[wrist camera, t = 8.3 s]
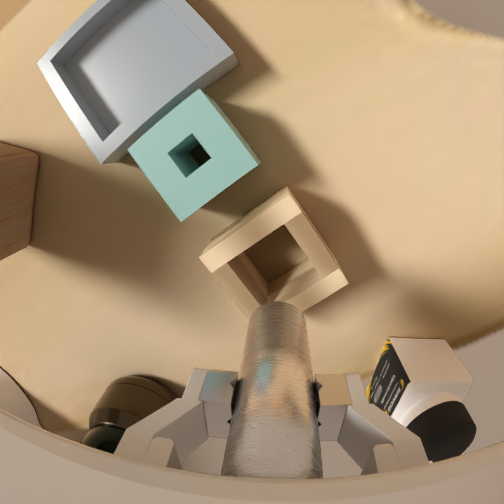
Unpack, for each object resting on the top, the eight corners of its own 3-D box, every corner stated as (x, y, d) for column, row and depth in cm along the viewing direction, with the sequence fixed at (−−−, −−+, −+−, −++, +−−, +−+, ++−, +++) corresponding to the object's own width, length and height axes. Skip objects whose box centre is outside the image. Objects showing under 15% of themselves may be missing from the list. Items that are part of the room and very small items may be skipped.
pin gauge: (267, 358, 15) (248, 561, 5) (235, 317, 14) (180, 531, 4) (317, 335, 14) (346, 547, 4) (288, 289, 13) (295, 521, 4)
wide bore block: (264, 303, 26) (261, 335, 22) (213, 237, 25) (198, 257, 20) (335, 258, 25) (348, 283, 20) (286, 185, 23) (289, 194, 18)
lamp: (112, 356, 30) (7, 519, 9) (196, 389, 30) (134, 583, 9) (110, 409, 33) (37, 545, 12) (181, 436, 33) (133, 588, 12)
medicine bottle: (386, 335, 27) (431, 429, 15) (445, 337, 26) (500, 417, 15) (364, 391, 29) (389, 484, 18) (420, 390, 29) (457, 471, 17)
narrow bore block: (199, 208, 24) (180, 222, 20) (155, 148, 23) (127, 149, 18) (261, 162, 23) (258, 165, 18) (214, 100, 22) (199, 88, 17)
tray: (118, 162, 24) (100, 164, 21) (56, 68, 21) (36, 63, 18) (239, 64, 21) (234, 52, 18) (157, -23, 18) (145, -38, 15)
